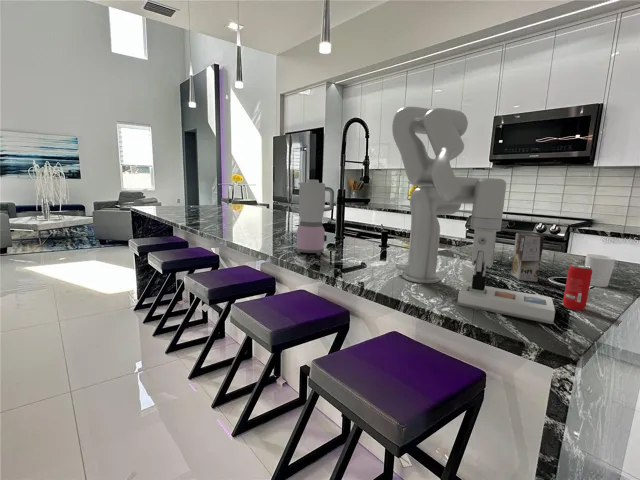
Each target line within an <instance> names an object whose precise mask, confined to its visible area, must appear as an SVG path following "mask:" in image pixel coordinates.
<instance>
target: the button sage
mask: <svg viewBox="0 0 640 480" xmlns="http://www.w3.org/2000/svg"><path fill="white" fill-rule="evenodd" d="M469 291H471V292H476V293H481V294H485V289H484V290H483V291H482V290H476V289H472V287H470V288H469Z"/></svg>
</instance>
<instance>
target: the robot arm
mask: <svg viewBox="0 0 640 480" xmlns="http://www.w3.org/2000/svg"><path fill="white" fill-rule="evenodd" d="M468 123H469V122H468V117H467V116H466V115H465V113H464V112H462V111H460V110H456V109H449V108H443V107H437V108H427V107H421V106H405V107H401V108H400V109H398V110H397V111H396V113H395V114H394V117H393V119H392V126H391V129H392V130H391V131H392V136H393V140H394V142H395V145H396V147H397V148H398V151H399V153H400V156H401V160H402V163H403V167H404V170H405V174H406V178H407V180H408V182H409V184H411V185H412V186H416V187H417V188H415V189H414V190H413V191H412V192H411V195H410V198H409V204H410V205H409V206H410V214H411V215H410V216H411V217H410V231H409V233H410V235H409V243H408V244H409V245H408V254H407V255H408V256H407V262H406V263H400V262H396V263H395V268H396V270H399V271H403V272H402V273H401V277H402V278H403V280H407V281H410V282H414V283H419V284H436V283H439V282H440V280H441V277H440V276H439V274H436V273H437V263H438V257H439V256H438V254H439V247H440V246H439V245H440V235H441V225H440V221H439V219H438V217H437V216H441V215H442V216H444V215H445V216H447V215H453V214H455V213H457V212H458V211H460V209H461V207H462V204H464V205H466V204H467V205H472V208H471V210H472V211H471V218H470V219H471V220H470V226H469V228H470V229H471V230H474V233H473V241H472V250H471V265H472V266H473V267H474V269H473V270H474V271H473V275H472V282H471V284H472V289H476V290H482V291H483V290H484V289H485V286H486V281H487V280H486V279H487V275H486V274H487V268H488V269H491V267H493V264H494V258H495V251H496V250H495V248H496V240H497V232H501V229H502V222H503V221H502V220H503V214H504V206H505V198H506V192H507V191H506V190H507V182H506V180H504V179H502V178H495V177H494V178H491V177H486V178H485V177H483V178H480V177H479V178H478V177H468V176H457V175H455V173H454V170H453V168H452V165H451V163H450V161H452V160H454V159H456V158H457V157H458V156H460V155H461V154H462V152H463V151H464V149H465V144H464V141H463V139H462V136H463V135H464V134H465V133H466V132H467V129H468V125H469V124H468ZM417 134H421V135H426V136H427V139H428V140H429V142H430V146H431V147H432V150H433V152H434V155H435V158H432V157H430V156H429V154H428V152H427V149H426V146H425V143H423V141H422V140H421V139H420V137H418V135H417Z"/></svg>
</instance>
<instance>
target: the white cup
mask: <svg viewBox="0 0 640 480" xmlns="http://www.w3.org/2000/svg"><path fill="white" fill-rule="evenodd" d="M615 262H616V258H615V257H611V256H608V255H601V254H591V253H590V254H586V255H585V263H584V265H586V266H590V267H592V276H591V282H590V286H592V287H597V288H608V286H609V283H610V279H611V277H612V273H613V270H614V265H615Z"/></svg>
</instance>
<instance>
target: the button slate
mask: <svg viewBox="0 0 640 480" xmlns="http://www.w3.org/2000/svg"><path fill="white" fill-rule="evenodd" d="M526 302H531V303H536V304H542V305H544V300H542V299H539V298H535V297H527V298H526Z"/></svg>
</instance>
